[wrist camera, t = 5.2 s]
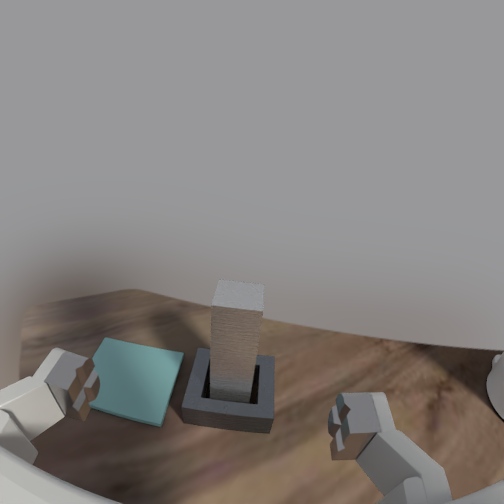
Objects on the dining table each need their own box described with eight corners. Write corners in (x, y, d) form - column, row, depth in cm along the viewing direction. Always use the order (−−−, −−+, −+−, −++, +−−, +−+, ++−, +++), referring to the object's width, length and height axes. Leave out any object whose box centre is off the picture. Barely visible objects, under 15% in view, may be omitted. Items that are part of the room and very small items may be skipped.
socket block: (270, 373, 35) (274, 356, 34) (269, 433, 27) (273, 418, 26) (198, 364, 35) (198, 347, 34) (183, 422, 27) (181, 407, 26)
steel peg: (249, 386, 33) (264, 284, 27) (247, 413, 29) (263, 311, 23) (215, 382, 33) (219, 279, 27) (210, 409, 29) (211, 305, 23)
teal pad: (183, 356, 36) (183, 352, 36) (161, 427, 26) (160, 424, 26) (106, 340, 36) (105, 337, 36) (70, 400, 26) (69, 397, 26)
